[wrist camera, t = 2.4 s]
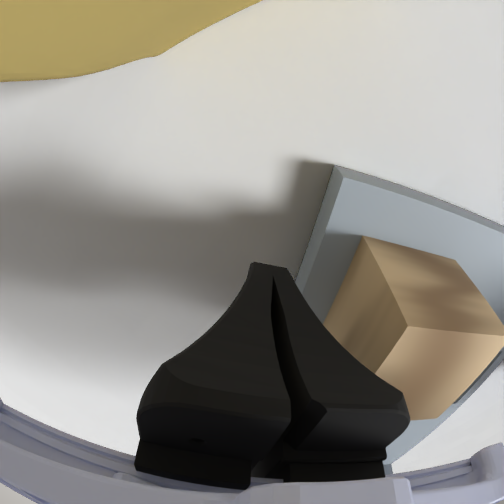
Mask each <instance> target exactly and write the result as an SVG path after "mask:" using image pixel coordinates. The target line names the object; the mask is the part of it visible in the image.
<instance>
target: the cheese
mask: <svg viewBox="0 0 504 504" xmlns="http://www.w3.org/2000/svg"><path fill="white" fill-rule="evenodd" d="M260 1H262V0H0V82H9V81H30V80H47V79H59V78H69V77H77V76H83V75H87V74H92V73H96V72H100V71H104V70H108V69H111V68H114V67H117V66H120V65H123V64H126V63H129V62H132V61H136V60H139V59H142V58H147V57H155V56H158V55H160V54H162V53H164V52H165V51H167V50H168V49H170V48H171V47H173V46H175V45H176V44H178V43H180V42H181V41H183V40H185V39H187V38H188V37H190V36H192V35H194V34H195V33H197V32H199V31H201V30H203V29H205V28H207V27H208V26H210V25H212V24H214V23H216V22H218V21H220V20H222V19H224V18H226V17H228V16H230V15H232V14H234V13H236V12H238V11H240V10H243V9H245V8H247V7H249V6H251V5H253V4H256V3H258V2H260Z"/></svg>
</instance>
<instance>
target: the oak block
mask: <svg viewBox="0 0 504 504" xmlns="http://www.w3.org/2000/svg"><path fill="white" fill-rule="evenodd" d="M323 325H324V326H325V328H326V329H327V330H328V331H329V332H330V333H331V334H332V336H333V337H334V338H335V339H336V340H337V341H338V342H339V343H340V344H341V345H342V346H343V347H344V348H345V349H346V350H347V351H348V352H349V353H350V354H351V355H352V356H353V357H354V358H356V359H357V360H358V361H359V362H360V363H361V364H363V365H364V366H365V367H366V368H368V369H369V370H370V371H372V372H373V373H374V374H376V375H377V376H378V377H380V378H381V379H383V380H384V381H386V382H387V383H389V384H390V385H392V386H394V387H395V388H397V389H398V390H400V391H401V392H403V395H404V398H405V401H406V404H407V408H408V411H409V415H410V421H412V420H425V419H436V418H438V417H439V416H440V415H441V414H442V413H443V412H444V411H445V410H446V409H448V408H449V407H450V406H451V405H452V404H453V403H454V402H455V401H456V400H457V399H458V398H459V397H460V396H461V395H462V393H463V392H464V391H465V390H466V389H467V388H468V387H469V386H470V385H471V384H472V383H473V382H474V381H475V380H476V378H477V377H478V376H479V375H480V374H481V373H482V372H483V371H484V369H485V368H486V367H487V366H488V365H489V364H490V362H491V361H492V360H493V359H494V358H495V356H496V355H497V354H498V353H499V351H500V350H501V349H502V348H503V346H504V325H503V324H502V322H501V321H500V319H499V318H498V316H497V315H496V313H495V312H494V310H493V309H492V308H491V306H490V305H489V303H488V302H487V301H486V299H485V298H484V296H483V295H482V294H481V292H480V291H479V290H478V288H477V287H476V286H475V284H474V283H473V282H472V280H471V279H470V278H469V277H468V275H467V274H466V273H465V271H464V270H463V269H462V268H461V266H460V265H459V264H458V263H457V261H456V260H454V259H450V258H447V257H443V256H439V255H436V254H432V253H429V252H425V251H421V250H417V249H414V248H410V247H406V246H402V245H399V244H395V243H391V242H387V241H383V240H379V239H375V238H371V237H367V236H363V235H362V238H361V240H360V243H359V245H358V247H357V250H356V252H355V255H354V257H353V259H352V262H351V264H350V266H349V268H348V271H347V273H346V275H345V278H344V280H343V282H342V284H341V286H340V289H339V291H338V293H337V295H336V297H335V299H334V302H333V304H332V306H331V308H330V310H329V312H328V314H327V316H326V318H325V321H324V323H323Z"/></svg>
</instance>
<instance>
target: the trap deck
mask: <svg viewBox="0 0 504 504" xmlns="http://www.w3.org/2000/svg"><path fill="white" fill-rule="evenodd" d="M362 235H363V236H367V237H371V238H375V239H379V240H383V241H387V242H391V243H395V244H399V245H402V246H406V247H410V248H414V249H417V250H421V251H425V252H429V253H432V254H436V255H439V256H443V257H447V258H450V259H454V260H456V261H457V263H458V264H459V265H460V266H461V268H462V269H463V270H464V271H465V273H466V274H467V275H468V277H469V278H470V279H471V280H472V282H473V283H474V284H475V286H476V287H477V288H478V290H479V291H480V292H481V294H482V295H483V296H484V298H485V299H486V301H487V302H488V303H489V305H490V306H491V308H492V309H493V310H494V312H495V313H496V315H497V316H498V318H499V319H500V321H501V322H502V324H503V325H504V226H502V225H500V224H497V223H495V222H493V221H491V220H488V219H486V218H484V217H481V216H479V215H477V214H474V213H472V212H470V211H467V210H465V209H462V208H460V207H457V206H455V205H452V204H450V203H447V202H445V201H442V200H440V199H437V198H434V197H432V196H429V195H426V194H423V193H421V192H418V191H415V190H412V189H409V188H407V187H404V186H401V185H398V184H395V183H392V182H389V181H386V180H383V179H380V178H377V177H373V176H370V175H367V174H364V173H361V172H357V171H354V170H350V169H347V168H344V167H340V166H337V165H334V168H333V171H332V174H331V177H330V181H329V184H328V187H327V190H326V193H325V196H324V199H323V202H322V205H321V208H320V211H319V214H318V217H317V220H316V223H315V226H314V229H313V232H312V235H311V238H310V241H309V244H308V247H307V250H306V252H305V255H304V258H303V261H302V264H301V267H300V269H299V272H298V275H297V278H296V281H295V283H296V285H297V287H298V289H299V290H300V292H301V294H302V295H303V297H304V298H305V300H306V302H307V303H308V305H309V306H310V308H311V309H312V311H313V312H314V313H315V315H316V316H317V317H318V319H319V320H320V321H321V323H322V324H323V323H324V321H325V318H326V316H327V314H328V312H329V310H330V308H331V306H332V304H333V302H334V299H335V297H336V295H337V293H338V291H339V289H340V286H341V284H342V282H343V280H344V278H345V275H346V273H347V271H348V268H349V266H350V264H351V262H352V259H353V257H354V255H355V252H356V250H357V247H358V245H359V243H360V240H361V238H362ZM503 359H504V346H503V348H502V349H501V350H500V351H499V353H498V354H497V355H496V356H495V358H494V359H493V360H492V361H491V362H490V364H489V365H488V366H487V367H486V368H485V369H484V371H483V372H482V373H481V374H480V375H479V376H478V377H477V378H476V380H475V381H474V382H473V383H472V384H471V385H470V386H469V387H468V388H467V389H466V390H465V391H464V392H463V393H462V395H461V396H460V397H459V398H458V399H457V400H456V401H455V402H454V403H453V404H452V405H451V406H450V407H449V408H448V409H446V410H445V411H444V412H443V413H442V414H441V415H440V416H439V417H438V418H436V419H425V420H412V421H410V423H409V425H408V427H407V429H406V430H405V431H404V432H403V433H402V434H401V435H400V436H399V437H398V438H397V439H396V440H394V441H393V442H392V443H391V444H390V445H388V446H387V447H386V453H387V459H386V460H384V461H383V466H384V471H385V475H390V474H393V472H392V466H391V464H392V463H393V462H394V461H396V460H397V459H399V458H400V457H401V456H403V455H404V454H405V453H407V452H408V451H409V450H410V449H412V448H413V447H414V446H415V445H417V444H418V443H419V442H420V441H422V440H423V439H424V438H425V437H427V436H428V435H429V434H430V433H431V432H432V431H434V430H435V429H436V428H437V427H438V426H439V425H440V424H442V423H443V422H444V421H445V420H446V419H447V418H448V417H449V416H450V415H451V414H453V413H454V412H455V411H456V410H457V409H458V408H459V407H460V406H461V405H462V404H463V403H464V402H465V401H466V400H467V399H468V398H469V397H470V396H471V395H472V394H473V393H474V392H475V391H476V390H477V389H478V388H479V387H480V385H481V384H482V383H483V382H484V381H485V380H486V379H487V378H488V377H489V376H490V374H491V373H492V372H493V371H494V370H495V369H496V368H497V366H498V365H499V364H500V363H501V362H502V360H503Z"/></svg>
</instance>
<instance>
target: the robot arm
mask: <svg viewBox="0 0 504 504" xmlns="http://www.w3.org/2000/svg"><path fill="white" fill-rule="evenodd" d="M136 419H137V425H138V430H139V436H140V441H139V445H138V449H137V453H136V456H133V455H129V454H126V453H122V452H119V451H116V450H112V449H109V448H106V447H103V446H100V445H97V444H94V443H91V442H88V441H86V440H83V439H80V438H78V437H75V436H72V435H70V434H67V433H65V432H62V431H60V430H58V429H55V428H53V427H51V426H48V425H46V424H44V423H42V422H39V421H37V420H35V419H33V418H31V417H29V416H27V415H25V414H23V413H21V412H19V411H17V410H15V409H13V408H11V407H9V406H7V405H5V404H4V403H3V402H2V400H1V398H0V482H1V483H2V484H4V485H6V486H7V487H9V488H11V489H13V490H14V491H16V492H17V493H19V494H21V495H23V496H25V497H26V498H28V499H31V500H32V501H34V502H36V503H38V504H496V503H498V502H499V501H501V500H503V499H504V446H503V443H498V444H495V445H491V446H488V447H485V448H483V449H481V450H480V451H478V452H477V453H476V454H474V455H473V456H472V457H471V458H470V459H466V460H462V461H458V462H454V463H450V464H446V465H442V466H437V467H432V468H427V469H422V470H416V471H410V472H404V473H397V474H390V475H385V471H384V466H383V461H384V460H386V459H387V453H386V447H387V446H388V445H390V444H391V443H392V442H393V441H394V440H396V439H397V438H398V437H399V436H400V435H401V434H402V433H403V432H404V431H405V430H406V429H407V427H408V425H409V423H410V415H409V411H408V408H407V404H406V401H405V398H404V395H403V392H401V391H400V390H398V389H397V388H395V387H394V386H392V385H390V384H389V383H387V382H386V381H384V380H383V379H381V378H380V377H378V376H377V375H376V374H374V373H373V372H372V371H370V370H369V369H368V368H366V367H365V366H364V365H363V364H361V363H360V362H359V361H358V360H357V359H356V358H354V357H353V356H352V355H351V354H350V353H349V352H348V351H347V350H346V349H345V348H344V347H343V346H342V345H341V344H340V343H339V342H338V341H337V340H336V339H335V338H334V337H333V336H332V334H331V333H330V332H329V331H328V330H327V329H326V328H325V326H324V325H323V324H322V323H321V321H320V320H319V319H318V317H317V316H316V315H315V313H314V312H313V311H312V309H311V308H310V306H309V305H308V303H307V302H306V300H305V298H304V297H303V295H302V294H301V292H300V290H299V289H298V287H297V285H296V283H295V282H294V280H293V278H292V277H291V275H290V273H289V271H288V270H287V268H282V267H277V266H272V265H267V264H262V263H257V262H253V263H251V264H250V268H249V272H248V276H247V279H246V282H245V283H244V285H243V287H242V289H241V291H240V292H239V294H238V295H237V297H236V298H235V300H234V301H233V303H232V304H231V305H230V307H229V308H228V309H227V311H226V312H225V313H224V314H223V315H222V317H221V318H220V319H219V320H218V321H217V322H216V323H215V324H214V325H213V326H212V327H211V328H210V329H209V330H208V331H207V332H206V333H205V334H204V335H203V336H201V337H200V338H199V339H198V340H196V341H195V342H194V343H193V344H191V345H190V346H189V347H188V348H186V349H185V350H183V351H182V352H181V353H179V354H177V355H176V356H174V357H173V358H171V359H169V360H168V361H166V362H165V363H163V364H162V365H161V366H160V368H159V369H158V370H157V372H156V373H155V375H154V376H153V378H152V379H151V381H150V382H149V384H148V386H147V387H146V389H145V391H144V393H143V396H142V398H141V401H140V404H139V408H138V411H137V418H136Z"/></svg>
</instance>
